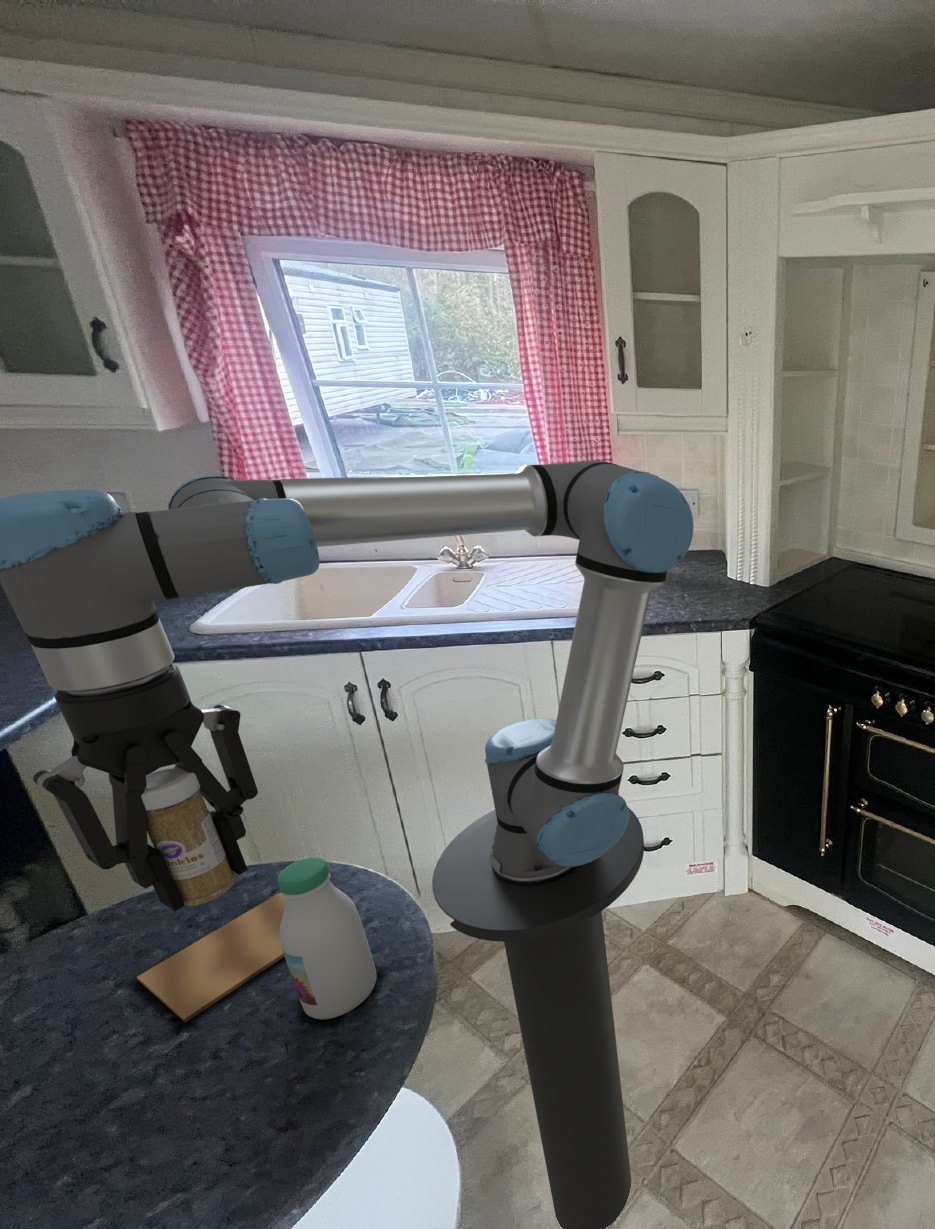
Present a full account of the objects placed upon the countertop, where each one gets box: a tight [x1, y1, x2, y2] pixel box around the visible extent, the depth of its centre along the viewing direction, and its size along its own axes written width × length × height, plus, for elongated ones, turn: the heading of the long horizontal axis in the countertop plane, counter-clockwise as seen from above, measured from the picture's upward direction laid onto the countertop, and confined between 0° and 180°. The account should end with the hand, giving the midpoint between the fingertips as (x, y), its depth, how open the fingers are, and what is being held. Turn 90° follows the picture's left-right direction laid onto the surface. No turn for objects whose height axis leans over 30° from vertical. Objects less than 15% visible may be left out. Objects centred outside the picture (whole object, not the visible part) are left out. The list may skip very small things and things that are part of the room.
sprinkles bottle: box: [141, 765, 237, 907], centre depth 62 cm, size 5×5×14 cm
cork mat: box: [136, 892, 286, 1023], centre depth 87 cm, size 16×12×1 cm
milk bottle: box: [276, 856, 378, 1020], centre depth 79 cm, size 8×8×20 cm
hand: (205, 884), depth 65 cm, fingers closed on sprinkles bottle, 4 cm apart
